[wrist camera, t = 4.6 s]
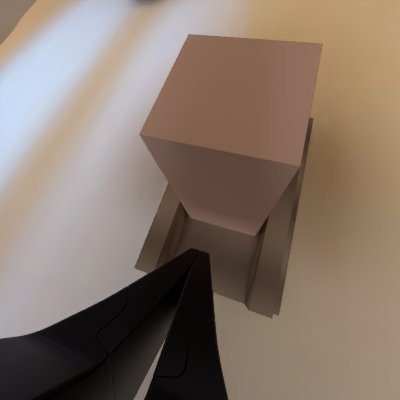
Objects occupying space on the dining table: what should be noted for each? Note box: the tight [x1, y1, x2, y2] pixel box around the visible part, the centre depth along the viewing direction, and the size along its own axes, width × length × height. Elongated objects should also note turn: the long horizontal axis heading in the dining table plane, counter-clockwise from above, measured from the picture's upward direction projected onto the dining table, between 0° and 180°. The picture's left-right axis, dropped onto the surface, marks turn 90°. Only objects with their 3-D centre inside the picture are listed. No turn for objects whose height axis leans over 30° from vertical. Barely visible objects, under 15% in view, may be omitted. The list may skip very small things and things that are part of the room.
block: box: [139, 34, 323, 236], centre depth 12 cm, size 5×5×10 cm
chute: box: [135, 118, 313, 318], centre depth 15 cm, size 16×10×4 cm, turn 162°
